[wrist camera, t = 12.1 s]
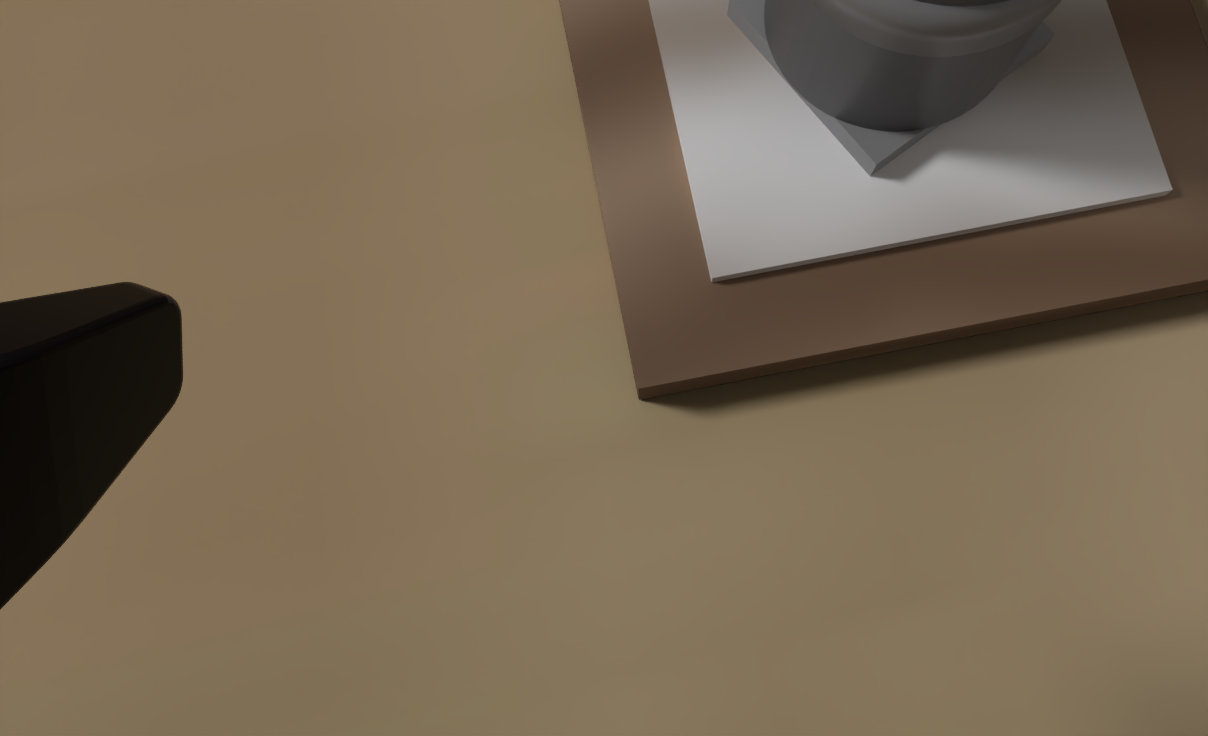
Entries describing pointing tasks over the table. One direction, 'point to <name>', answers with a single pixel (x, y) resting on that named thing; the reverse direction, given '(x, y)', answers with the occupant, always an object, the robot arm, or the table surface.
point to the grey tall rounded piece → (892, 61)
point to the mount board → (884, 192)
